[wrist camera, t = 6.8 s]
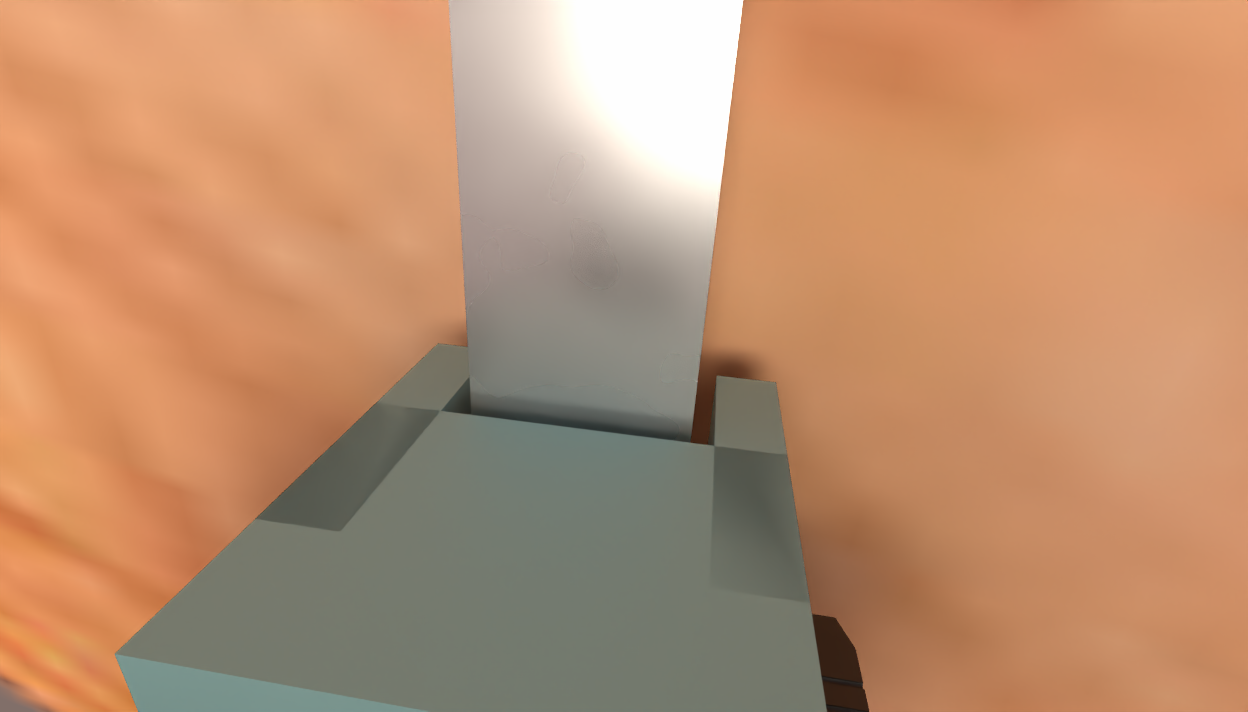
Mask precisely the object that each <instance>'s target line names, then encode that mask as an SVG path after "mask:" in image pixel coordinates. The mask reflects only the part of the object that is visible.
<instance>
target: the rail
mask: <svg viewBox="0 0 1248 712" xmlns="http://www.w3.org/2000/svg"><path fill="white" fill-rule="evenodd" d="M742 2H743V0H449V15H450V33H451V51H452V69H453V88H454V106H455V124H456V142H457V160H458V178H459V196H460V214H461V232H462V250H463V269H464V287H465V305H466V323H467V341H468V359H469V377H470V395H471V413H472V415H477V416H485V417H492V418H500V419H508V420H516V421H524V422H532V423H539V424H547V425H555V426H563V427H571V428H579V429H587V430H594V431H602V432H610V433H618V434H626V435H634V436H642V437H649V438H657V439H665V440H673V441H681V442H689V443H690V442H691V433H692V425H693V416H694V408H695V399H696V391H697V382H698V374H699V365H700V357H701V349H702V340H703V332H704V323H705V315H706V306H707V298H708V289H709V281H710V273H711V264H712V256H713V247H714V239H715V230H716V222H717V213H718V205H719V196H720V188H721V180H722V171H723V163H724V154H725V146H726V137H727V129H728V120H729V112H730V104H731V95H732V87H733V78H734V70H735V61H736V53H737V44H738V36H739V27H740V19H741V11H742Z"/></svg>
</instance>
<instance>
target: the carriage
mask: <svg viewBox="0 0 1248 712" xmlns="http://www.w3.org/2000/svg"><path fill="white" fill-rule="evenodd" d="M115 656H116V659H117V661H118V663H119V666H120V668H121V671H122V673H123V676H124V678H125V681H126V683H127V685H128V688H129V690H130V693H131V695H132V698H133V700H134V702H135V705H136V707H137V710H138V712H827V709H826V703H825V696H824V690H823V683H822V677H821V670H820V664H819V657H818V651H817V644H816V638H815V631H814V625H813V618H812V612H811V606H810V599H809V593H808V586H807V580H806V573H805V567H804V560H803V554H802V547H801V541H800V534H799V528H798V521H797V515H796V508H795V502H794V496H793V489H792V483H791V476H790V470H789V463H788V457H787V450H786V444H785V437H784V431H783V424H782V418H781V411H780V405H779V399H778V392H777V386H776V382H769V381H760V380H751V379H743V378H734V377H725V376H717V378H716V385H715V393H714V401H713V408H712V416H711V423H710V431H709V438H708V445H704V444H696V443H689V442H681V441H673V440H665V439H657V438H649V437H642V436H634V435H626V434H618V433H610V432H602V431H594V430H587V429H579V428H571V427H563V426H555V425H547V424H539V423H532V422H524V421H516V420H508V419H500V418H492V417H485V416H477V415H472V413H471V395H470V377H469V359H468V347H465V346H456V345H447V344H439V343H438V344H437V345H436V346H435V347H434V348H433V349H432V350H431V351H430V352H429V353H428V354H427V355H426V356H425V357H423V358H422V359H421V360H420V361H419V362H418V363H417V364H416V365H415V366H414V367H413V368H412V369H411V370H410V371H409V372H408V373H407V374H406V375H405V376H404V377H403V378H402V379H401V380H400V381H398V382H397V383H396V384H395V385H394V386H393V387H392V388H391V389H390V390H389V391H388V392H387V393H386V394H385V395H384V396H383V397H382V398H381V399H380V400H379V401H378V402H377V403H376V404H375V405H373V406H372V407H371V408H370V409H369V410H368V411H367V412H366V413H365V414H364V415H363V416H362V417H361V418H360V419H359V420H358V421H357V422H356V423H355V424H354V425H353V426H352V427H351V428H350V429H348V430H347V431H346V432H345V433H344V434H343V435H342V436H341V437H340V438H339V439H338V440H337V441H336V442H335V443H334V444H333V445H332V446H331V447H330V448H329V449H328V450H327V451H326V452H325V453H323V454H322V455H321V456H320V457H319V458H318V459H317V460H316V461H315V462H314V463H313V464H312V465H311V466H310V467H309V468H308V469H307V470H306V471H305V472H304V473H303V474H302V475H301V476H300V477H298V478H297V479H296V480H295V481H294V482H293V483H292V484H291V485H290V486H289V487H288V488H287V489H286V490H285V491H284V492H283V493H282V494H281V495H280V496H279V497H278V498H277V499H276V500H275V501H273V502H272V503H271V504H270V505H269V506H268V507H267V508H266V509H265V510H264V511H263V512H262V513H261V514H260V515H259V516H258V517H257V518H256V519H255V520H254V521H253V522H252V523H251V524H250V525H248V526H247V527H246V528H245V529H244V530H243V531H242V532H241V533H240V534H239V535H238V536H237V537H236V538H235V539H234V540H233V541H232V542H231V543H230V544H229V545H228V546H227V547H226V548H225V549H223V550H222V551H221V552H220V553H219V554H218V555H217V556H216V557H215V558H214V559H213V560H212V561H211V562H210V563H209V564H208V565H207V566H206V567H205V568H204V569H203V570H202V571H201V572H200V573H198V574H197V575H196V576H195V577H194V578H193V579H192V580H191V581H190V582H189V583H188V584H187V585H186V586H185V587H184V588H183V589H182V590H181V591H180V592H179V593H178V594H177V595H176V596H175V597H173V598H172V599H171V600H170V601H169V602H168V603H167V604H166V605H165V606H164V607H163V608H162V609H161V610H160V611H159V612H158V613H157V614H156V615H155V616H154V617H153V618H152V619H151V620H150V621H148V622H147V623H146V624H145V625H144V626H143V627H142V628H141V629H140V630H139V631H138V632H137V633H136V634H135V635H134V636H133V637H132V638H131V639H130V640H129V641H128V642H127V643H126V644H125V645H123V646H122V647H121V648H120V649H119V650H118V651H117V652H116V653H115Z"/></svg>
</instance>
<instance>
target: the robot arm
mask: <svg viewBox="0 0 1248 712" xmlns="http://www.w3.org/2000/svg"><path fill="white" fill-rule="evenodd" d="M812 618H813V625H814V631H815V638H816V644H817V651H818V657H819V664H820V670H821V677H822V683H823V690H824V696H825V703H826V709H827V712H869V708H868V703H867V699H866V694H865V690H864V689H863V681H862V676H861V672H860V667H859V663H858V658H857V653H856V649H855V647H854V646H853V644H852V643H851V641H850V640H849V638H848V637H847V635H846V634H845V632H844V631H843V629H842V628H841V626H840V625H839V623H838V622H837V620H836V618H834V617H827V616H821V615H814V614H812Z"/></svg>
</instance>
